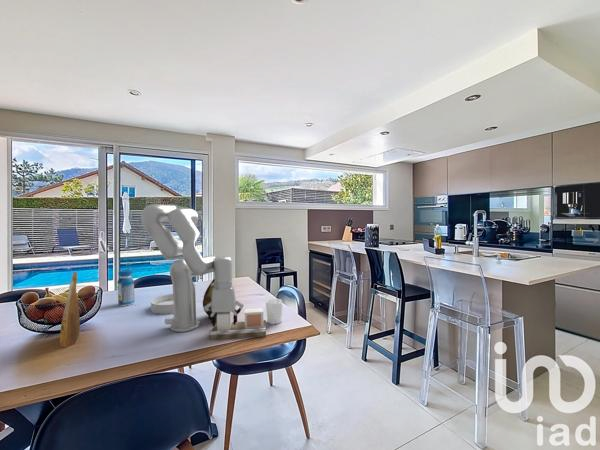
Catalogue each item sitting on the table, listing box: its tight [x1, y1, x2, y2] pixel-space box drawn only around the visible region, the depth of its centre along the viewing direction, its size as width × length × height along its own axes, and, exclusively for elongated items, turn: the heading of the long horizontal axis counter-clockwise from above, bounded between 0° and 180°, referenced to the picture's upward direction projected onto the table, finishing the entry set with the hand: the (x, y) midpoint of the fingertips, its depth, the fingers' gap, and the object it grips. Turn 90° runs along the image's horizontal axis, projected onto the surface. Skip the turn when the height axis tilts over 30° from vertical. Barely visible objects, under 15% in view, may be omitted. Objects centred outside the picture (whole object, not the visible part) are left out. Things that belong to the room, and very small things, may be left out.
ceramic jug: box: [202, 278, 218, 321], centre depth 146 cm, size 17×15×30 cm
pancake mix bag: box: [59, 270, 81, 348], centre depth 121 cm, size 7×19×28 cm, turn 30°
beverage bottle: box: [116, 268, 136, 307], centre depth 169 cm, size 8×8×20 cm
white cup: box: [265, 298, 283, 325], centre depth 138 cm, size 8×8×10 cm
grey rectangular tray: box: [209, 319, 267, 341], centre depth 127 cm, size 23×13×3 cm, turn 97°
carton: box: [244, 307, 265, 329], centre depth 128 cm, size 8×5×7 cm, turn 97°
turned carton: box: [216, 312, 232, 331], centre depth 127 cm, size 8×5×7 cm, turn 7°
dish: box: [150, 293, 174, 315], centre depth 163 cm, size 22×22×5 cm
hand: (224, 324), depth 127 cm, fingers open, 8 cm apart
